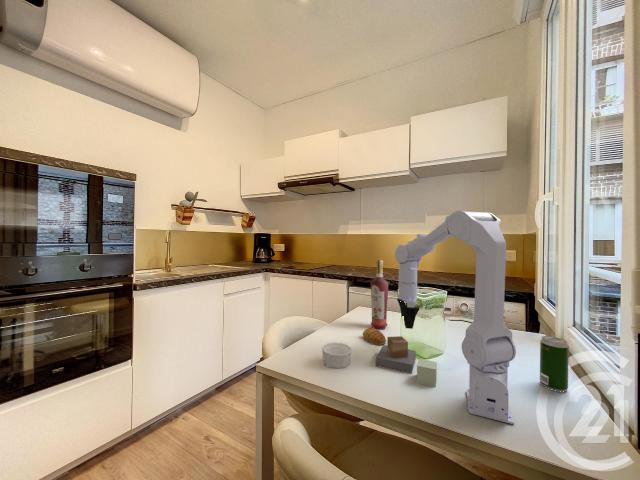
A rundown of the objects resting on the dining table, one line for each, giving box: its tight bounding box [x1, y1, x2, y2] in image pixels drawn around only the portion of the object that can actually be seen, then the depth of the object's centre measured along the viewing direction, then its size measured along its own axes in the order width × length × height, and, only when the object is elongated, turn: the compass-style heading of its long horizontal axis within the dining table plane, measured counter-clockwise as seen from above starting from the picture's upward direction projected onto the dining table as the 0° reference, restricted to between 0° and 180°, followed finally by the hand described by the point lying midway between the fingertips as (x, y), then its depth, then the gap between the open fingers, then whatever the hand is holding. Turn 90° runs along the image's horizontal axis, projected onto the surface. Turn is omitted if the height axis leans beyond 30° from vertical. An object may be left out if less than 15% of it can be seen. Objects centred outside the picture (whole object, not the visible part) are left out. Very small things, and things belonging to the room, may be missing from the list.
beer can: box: [539, 335, 570, 393], centre depth 68 cm, size 5×5×12 cm
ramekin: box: [321, 342, 353, 369], centre depth 80 cm, size 9×9×4 cm
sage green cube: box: [416, 358, 438, 388], centre depth 70 cm, size 4×4×4 cm
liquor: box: [370, 259, 389, 330], centre depth 112 cm, size 7×7×28 cm
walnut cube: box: [386, 335, 409, 358], centre depth 80 cm, size 4×4×4 cm
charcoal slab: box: [375, 344, 417, 374], centre depth 80 cm, size 10×10×3 cm
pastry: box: [362, 327, 387, 346], centre depth 97 cm, size 9×7×4 cm
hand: (407, 324), depth 87 cm, fingers open, 7 cm apart
